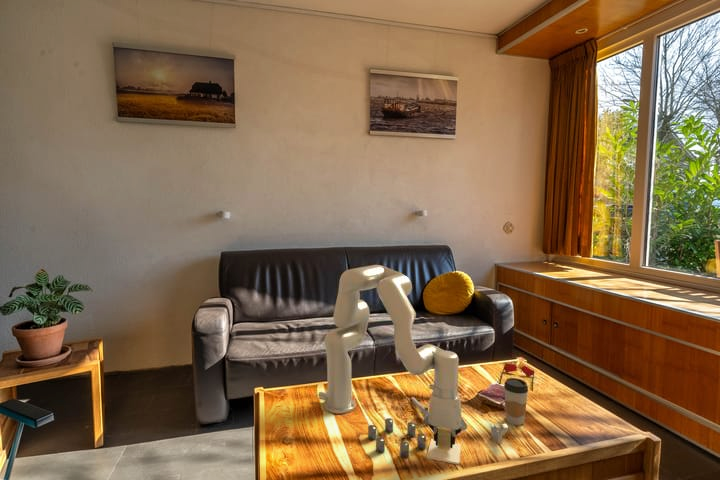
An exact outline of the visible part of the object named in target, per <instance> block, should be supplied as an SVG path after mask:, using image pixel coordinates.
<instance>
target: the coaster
mask: <svg viewBox="0 0 720 480" xmlns="http://www.w3.org/2000/svg"><path fill="white" fill-rule="evenodd" d="M461 451H462V444H461V443H456V442H455V445H453V447H452V448H450V451H449V450H444V449H438V448H437V446H436V441H434V438H431V439H430V442H429V446H428V450H427V455H426V459H428V460H433V461H439V462H444V463H449V464H454V465H460V462H461V461H460V460H461V453H462V452H461Z"/></svg>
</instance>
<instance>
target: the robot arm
mask: <svg viewBox="0 0 720 480" xmlns="http://www.w3.org/2000/svg"><path fill="white" fill-rule="evenodd" d="M375 288H376V293H377V294H378V296H379V299H380V300H381V302H382V305H383V306H384V308H385V310H386V312H387V314H388V315H389V318H390V320H391V322H392V324H393V338H394V339H393V340H394V346H395V350H396V353H397V355H398V356H399V359H400V360H401V362H402V365H403V366H404V368H405V369H406V371H407V372H408V373H410V374H412V375H414V376H421V375H423V374H425V373H427V372H429V371H430V370H432V369H433V370H434V371H433V372H434V373H433V378H434V379H433V383H432V384H429V385H428V386H429V387H428V389H430V390H432V392H431V394H430V398H429V406H428V411H429V413H428V414H427V415H426V416H425V417H424V416H423V423H425V425H426V424H427V426H428V427H429V428H430V430H432V433H433V439H434V441H436V446H437V445H438V428H439V427H442V428H448V429H451V439H450V448H452V447H453V445H455V443H456V437H457V435H459V434H460V433H461V432H463V431H465V430H467V429H468V425H467V423H466V421H465V420H464V418H463V417H462V402H461V397H460V394H459V362H460V361H459V360H460V359H459V356H458V354H457V353H456V352H454V351H450V350H444V349H442V348H441V347H438V346H436V345H434V344H431V343H427V344H424V345H422V346H420V347H418V348H417V347H416V345H415V343H414V341H413V336H412V328H413V325H414V322H415V320H416V317H417V313H416V311H415V309H414V307H413V305H412V304H411V302H410V300H409V298H408V296H409V295H410V294H411V292H412V290H413V284H412V281H411V280H410V278H409V277H407V275H405V274H404V273H401V272H400V271H396V270H395V269H391V268H390V267H386V266H383V265H380V264H373V265H366V266H361V267H357V268H356V267H355V268H350V269H347V270H345V271H344V272H342V274H341V276H340V279H339V283H338V291H337V297H336V301H335V305H334V311H333V320H332V321H333V323H334V325H335V326H336V327H337V328H334V329H332V330H330V331H329V332H327V334H326V335H325V337H324V346H325V352H326V353H325V354H326V366H327V367H326V368H327V369H326V370H327V384H326V385H327V391H326V392H324V391H319V392H318V399H319V400H321V401H322V400H323V408H324V409H325V410H326V412H328V413H332V414H340V415H341V414H342V415H343V414H346V413H350V412H351V411H352V410H354V409H355V407H356V401H355V399H353V398H352V360H351V357H350V355H349V353H348V352H349V351H350V350H351V349H354V348H357V347H359V346H360V345H361V344H362V343H363V342H364V340H365V337H366V334H367V329H368V326H369V320H370V315H371V314H370V313H371V312H370V307H369V305H368V303H367V302H365V301H364V299H360V298H361V294H360V293H361V292H360V291H366V290H367V291H368V290H371V289H375Z"/></svg>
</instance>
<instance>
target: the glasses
mask: <svg viewBox="0 0 720 480" xmlns="http://www.w3.org/2000/svg"><path fill="white" fill-rule="evenodd" d="M518 366H519V367H520V368H519V369H520V372H521V374H522V373H523V374H524V376H526V377H531V376H532V378H531V391H532V392H533V391H534V378H535V369H533V368H532V367H530V366H525V365H522V366H520V365H518V364H512V363H505V364H504V365H503V369H502V372H501V374H500V377H499V378H500V379H499V383H498V385H499V384H500V385H501V383H502V380H503V379H502V378H503V375H504V372H505V373H511V372H517V371H518V369H517V368H518Z"/></svg>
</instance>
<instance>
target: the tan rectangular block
mask: <svg viewBox="0 0 720 480" xmlns="http://www.w3.org/2000/svg"><path fill="white" fill-rule="evenodd" d="M450 439H451V429H448V428H442V427H438V445H437V448H438V449H444V450H449V451H450Z"/></svg>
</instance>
